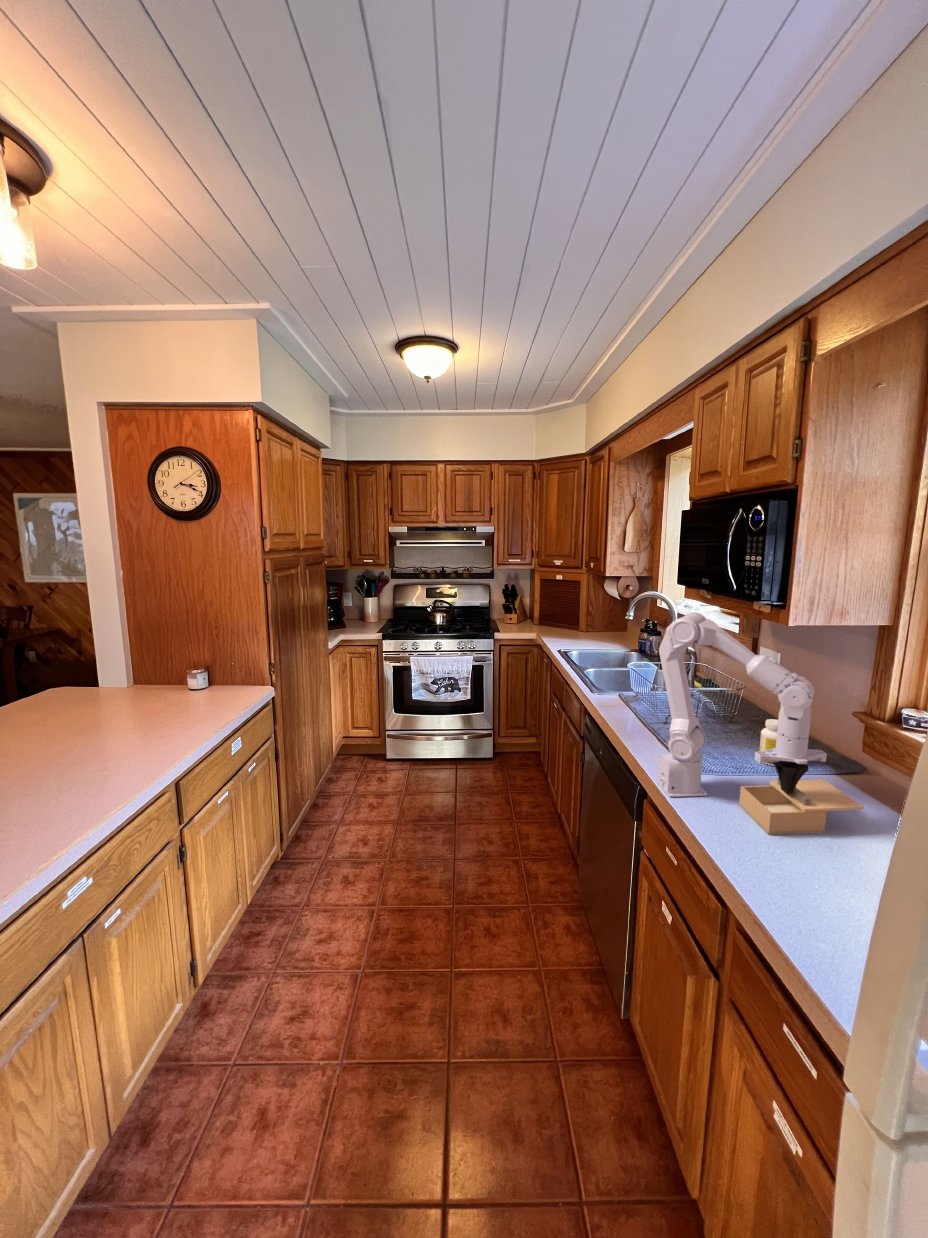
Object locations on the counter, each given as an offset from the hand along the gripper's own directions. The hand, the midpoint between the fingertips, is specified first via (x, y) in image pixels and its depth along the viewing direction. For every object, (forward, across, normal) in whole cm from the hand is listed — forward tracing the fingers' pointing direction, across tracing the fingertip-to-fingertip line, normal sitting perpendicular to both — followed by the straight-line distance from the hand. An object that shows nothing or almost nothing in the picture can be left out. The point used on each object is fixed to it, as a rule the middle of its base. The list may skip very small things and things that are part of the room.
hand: (786, 791), depth 109 cm
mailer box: (+7, -1, 0) cm, 7 cm away
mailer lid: (+1, +6, 0) cm, 6 cm away
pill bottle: (+7, +14, +26) cm, 30 cm away
